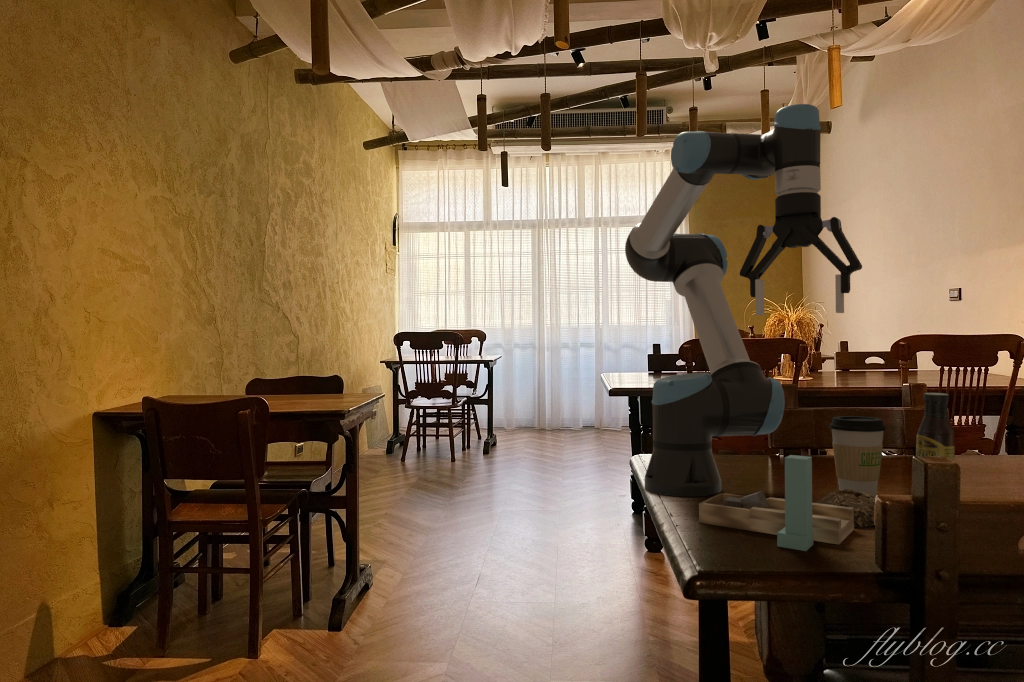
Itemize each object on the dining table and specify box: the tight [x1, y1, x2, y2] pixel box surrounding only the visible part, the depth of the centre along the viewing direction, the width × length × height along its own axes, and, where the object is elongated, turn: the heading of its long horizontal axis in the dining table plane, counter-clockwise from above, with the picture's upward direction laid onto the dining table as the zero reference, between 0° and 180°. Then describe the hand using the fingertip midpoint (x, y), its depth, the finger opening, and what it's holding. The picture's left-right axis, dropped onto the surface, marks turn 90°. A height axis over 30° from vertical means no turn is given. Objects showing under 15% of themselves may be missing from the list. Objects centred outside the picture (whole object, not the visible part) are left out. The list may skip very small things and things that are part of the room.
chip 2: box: [740, 490, 770, 509], centre depth 115 cm, size 3×3×3 cm
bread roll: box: [816, 489, 875, 529], centre depth 119 cm, size 13×12×5 cm
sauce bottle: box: [915, 392, 956, 462], centre depth 133 cm, size 6×6×20 cm
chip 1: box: [724, 497, 744, 508], centre depth 117 cm, size 3×3×3 cm
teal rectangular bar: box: [776, 454, 814, 552], centre depth 103 cm, size 4×4×13 cm
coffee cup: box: [828, 415, 887, 497], centre depth 134 cm, size 10×10×15 cm
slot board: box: [698, 492, 855, 545], centre depth 114 cm, size 22×10×4 cm, turn 53°
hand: (798, 314), depth 125 cm, fingers open, 13 cm apart
